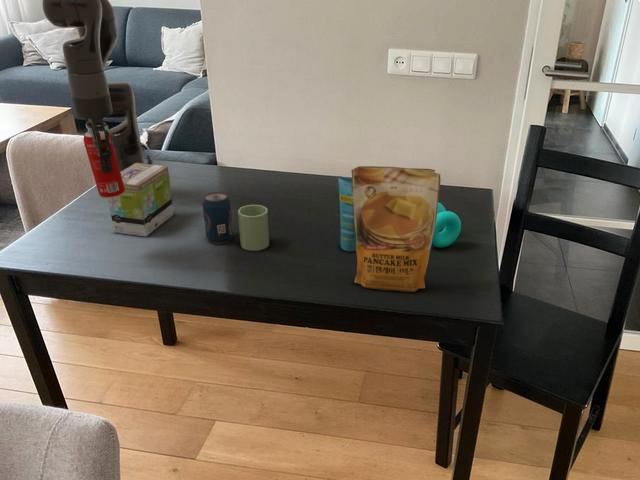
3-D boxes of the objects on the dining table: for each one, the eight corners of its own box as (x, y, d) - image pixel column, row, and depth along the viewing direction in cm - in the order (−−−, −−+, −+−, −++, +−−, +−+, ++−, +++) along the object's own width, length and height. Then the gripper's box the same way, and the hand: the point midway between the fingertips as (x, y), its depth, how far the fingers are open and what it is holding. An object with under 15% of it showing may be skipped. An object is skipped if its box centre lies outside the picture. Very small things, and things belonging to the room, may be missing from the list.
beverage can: (130, 193, 137) (119, 130, 130) (106, 202, 133) (93, 137, 125) (114, 187, 140) (101, 125, 132) (90, 196, 135) (76, 132, 128)
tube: (333, 249, 151) (334, 178, 141) (340, 241, 155) (340, 172, 145) (361, 254, 149) (363, 183, 139) (366, 245, 153) (369, 176, 143)
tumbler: (236, 241, 153) (233, 207, 148) (263, 235, 156) (260, 202, 151) (246, 253, 147) (244, 218, 143) (273, 247, 151) (272, 213, 146)
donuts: (428, 252, 151) (431, 217, 145) (409, 236, 158) (412, 202, 153) (460, 245, 154) (465, 211, 149) (440, 230, 162) (444, 196, 157)
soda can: (204, 235, 155) (199, 193, 149) (230, 231, 158) (226, 189, 152) (209, 246, 150) (204, 203, 144) (236, 242, 152) (232, 199, 146)
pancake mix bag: (350, 273, 140) (353, 161, 126) (430, 279, 139) (442, 166, 125) (347, 287, 134) (349, 171, 120) (430, 294, 133) (442, 178, 119)
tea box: (148, 237, 153) (139, 184, 146) (113, 233, 155) (102, 180, 147) (175, 214, 166) (168, 164, 158) (142, 210, 167) (134, 161, 160)
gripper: (115, 98, 121) (129, 175, 129) (102, 83, 131) (116, 156, 140) (76, 102, 117) (92, 181, 126) (66, 86, 128) (82, 160, 137)
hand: (105, 167), depth 133 cm, fingers closed on beverage can, 5 cm apart
